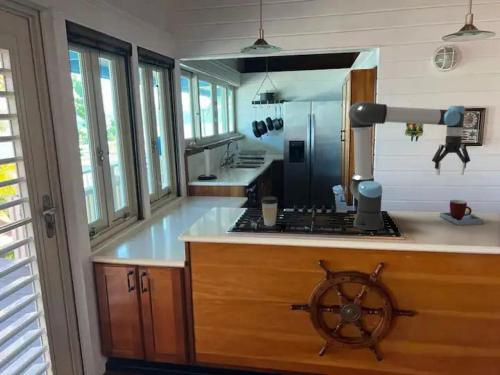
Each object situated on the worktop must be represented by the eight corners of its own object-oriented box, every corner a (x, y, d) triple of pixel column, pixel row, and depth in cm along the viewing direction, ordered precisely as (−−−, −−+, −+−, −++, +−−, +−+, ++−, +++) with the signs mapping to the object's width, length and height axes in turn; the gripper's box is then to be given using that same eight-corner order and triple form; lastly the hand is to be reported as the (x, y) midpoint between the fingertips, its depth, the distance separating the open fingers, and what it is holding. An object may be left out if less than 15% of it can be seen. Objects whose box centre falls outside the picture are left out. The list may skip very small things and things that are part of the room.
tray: (457, 225, 197) (457, 220, 196) (439, 216, 212) (440, 212, 211) (483, 224, 198) (483, 219, 197) (464, 215, 213) (464, 211, 212)
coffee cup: (281, 226, 203) (281, 199, 199) (265, 228, 199) (264, 201, 196) (273, 221, 211) (273, 195, 208) (258, 223, 208) (257, 197, 205)
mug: (468, 217, 207) (469, 200, 205) (472, 222, 199) (474, 203, 197) (447, 216, 210) (448, 199, 207) (450, 221, 202) (451, 203, 200)
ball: (465, 215, 214) (465, 209, 213) (461, 213, 217) (461, 207, 216) (470, 215, 214) (471, 209, 213) (466, 213, 217) (467, 207, 217)
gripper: (435, 136, 195) (431, 176, 199) (481, 135, 196) (475, 175, 201) (427, 135, 202) (423, 173, 206) (471, 134, 204) (466, 173, 208)
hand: (449, 174), depth 204 cm, fingers open, 13 cm apart
